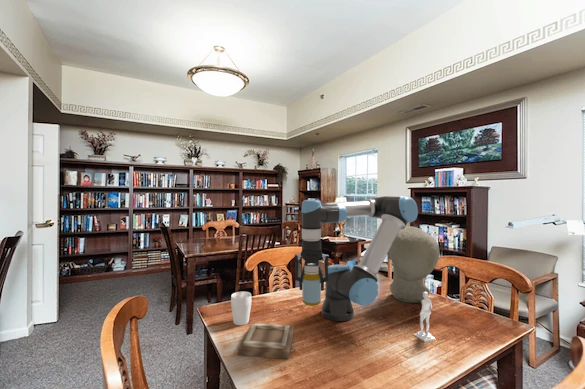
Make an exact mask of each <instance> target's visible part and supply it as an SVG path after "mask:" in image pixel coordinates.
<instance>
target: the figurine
mask: <svg viewBox="0 0 585 389" xmlns="http://www.w3.org/2000/svg"><path fill="white" fill-rule="evenodd" d="M423 297H424V299H423V300H422V302H420V304H421V310H420V312H419V316H420V317H419V326H420V327H419V328H420V330H418V331H417V332H416V333H413V336H415V337H416V338H417V339H419V340H420V341H422V342H424V343H427V342H430V341H433V340H436V338H435V336H434V335H432V333H430V332H429V330H430V321H429V320H430V317H431V316H430V315H431V314H432V311H431V310H432V309H433V304H432V300H431V299H430V298H429V295H428V293H427V292H423ZM427 297H428V298H427ZM424 320H425V323H426V325H425V326H426V327H425V328H426V329H425V330H424Z"/></svg>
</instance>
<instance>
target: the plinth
mask: <svg viewBox="0 0 585 389" xmlns="http://www.w3.org/2000/svg"><path fill="white" fill-rule="evenodd" d="M294 327H295V326H290V325H288V324H274V323H273V324H271V323H254V322H253V323H252V324H251V323H250V325H249V326H248V328H247V331H246V332H245V334H244V336H243V338H242V339H241V342H240V344H239V345H238V347H237V356H241V357H256V358H258V357H259V358H271V359H287V360H288V359H290V355H291V349H292V344H293V338H294V333H295V332H294V331H295V329H294Z"/></svg>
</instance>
